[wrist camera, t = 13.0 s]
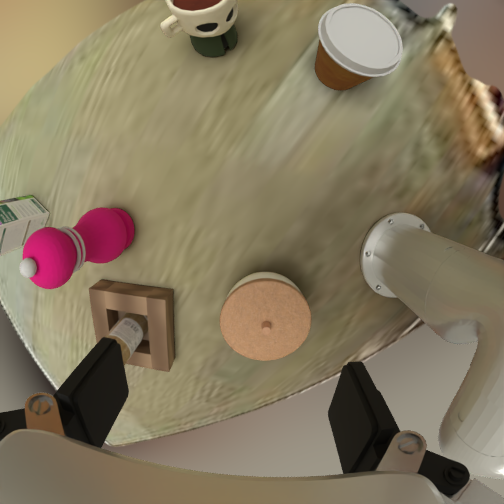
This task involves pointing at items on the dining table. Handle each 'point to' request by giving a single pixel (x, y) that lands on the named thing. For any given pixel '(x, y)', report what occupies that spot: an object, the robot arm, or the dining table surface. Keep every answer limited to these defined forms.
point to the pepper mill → (75, 246)
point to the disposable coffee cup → (355, 46)
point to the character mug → (204, 24)
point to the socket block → (144, 303)
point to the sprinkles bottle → (129, 333)
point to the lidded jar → (265, 316)
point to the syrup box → (19, 221)
